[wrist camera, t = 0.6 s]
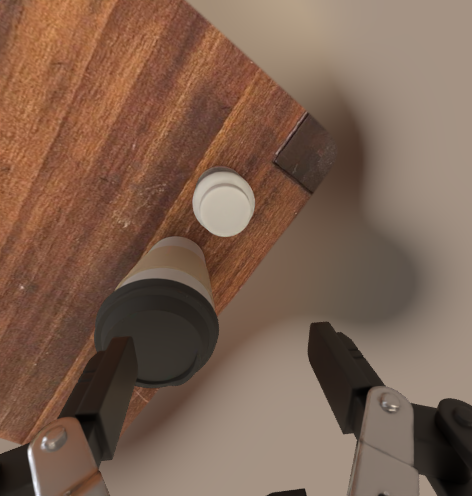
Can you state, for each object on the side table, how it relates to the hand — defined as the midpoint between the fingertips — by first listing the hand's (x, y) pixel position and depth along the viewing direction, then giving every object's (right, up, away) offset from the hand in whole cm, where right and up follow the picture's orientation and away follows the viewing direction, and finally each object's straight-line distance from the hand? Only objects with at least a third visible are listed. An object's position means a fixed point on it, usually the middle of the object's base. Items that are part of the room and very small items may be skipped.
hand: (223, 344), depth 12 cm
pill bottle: (-1, +11, +17) cm, 20 cm away
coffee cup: (-7, +3, +20) cm, 21 cm away
